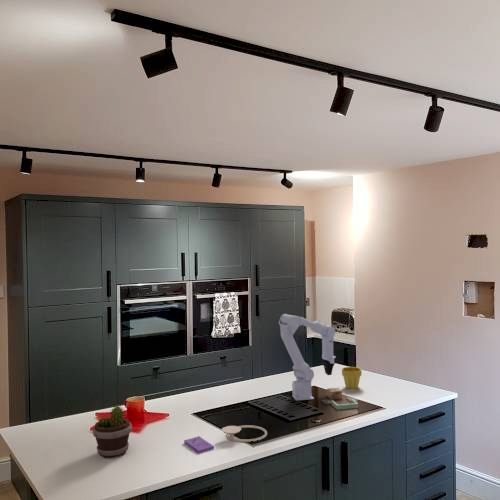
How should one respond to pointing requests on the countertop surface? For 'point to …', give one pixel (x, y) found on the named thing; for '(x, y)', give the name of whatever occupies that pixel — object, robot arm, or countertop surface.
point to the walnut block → (334, 393)
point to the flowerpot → (112, 434)
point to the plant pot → (351, 376)
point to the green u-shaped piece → (343, 406)
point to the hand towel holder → (236, 429)
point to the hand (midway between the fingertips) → (328, 374)
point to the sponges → (198, 444)
